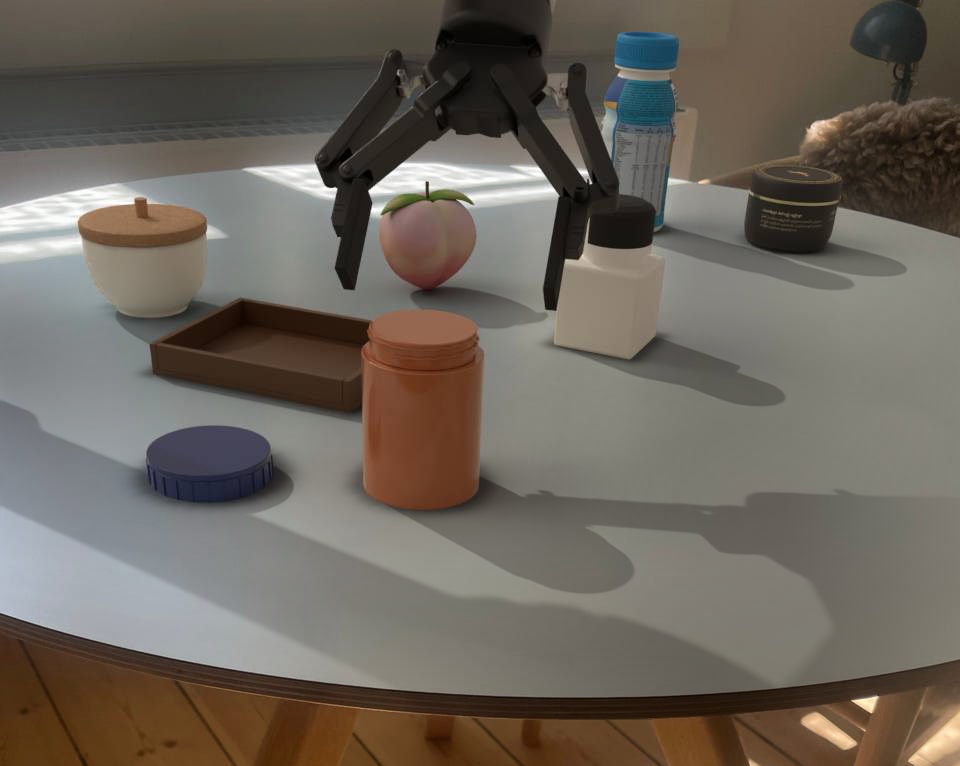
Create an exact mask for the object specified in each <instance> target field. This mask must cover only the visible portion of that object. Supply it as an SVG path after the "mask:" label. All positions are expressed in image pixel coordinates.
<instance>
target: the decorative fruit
mask: <svg viewBox="0 0 960 766" xmlns="http://www.w3.org/2000/svg"><path fill="white" fill-rule="evenodd" d="M424 187H425V192H415V193H402V194H398V195H397V196H395V197H393V198H391V199H390V200H389V201H388V202H387V203H386V204H385V206H384V207H383V209H382V210H381V212H380V216H381V218H380V221H379V226H378V238H379V243H380V248H381V251H382V253H383V256H384V258H385V260H386V263H387V264H388V266H389V268H390V269H391V271H393V273H394V274H395V275H396V276H397V277H398V278H400V279H402V281H404V282H407V283H408V284H410V285H413V286H414V287H417V288H419V289H421V290H423V291H429V290H432V289H435V288H437V287H439V286H440V285H442V284H444V283H446V282H447V281H449V280H450V279H451V278H453V277H454V276H455V275H457V273H458V272H459V271H460V270H461V269H462V268H463V267H464V266H465V264H467V262H468V261H469V259H470V258H471V256H472V255H473V252H474V250H475V247H476V243H477V237H478V236H477V228H476V224H475V220H474V218H473V216H472V215H471V213H470V211H469V210H468V208H467V207H465V205H464V204H463V203H462V202H465V203H468V204H470V205H471V206H475V203H474V201H473V200H471V198H469V197H468V196H467V195H466V194H464V193H463V192H460V191H458V190H454V189H447V188H444V189H442V188H441V189H436V190H433V191H431V192H430V182H429V181H428V180H426V181H425V186H424ZM461 201H462V202H461Z"/></svg>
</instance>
